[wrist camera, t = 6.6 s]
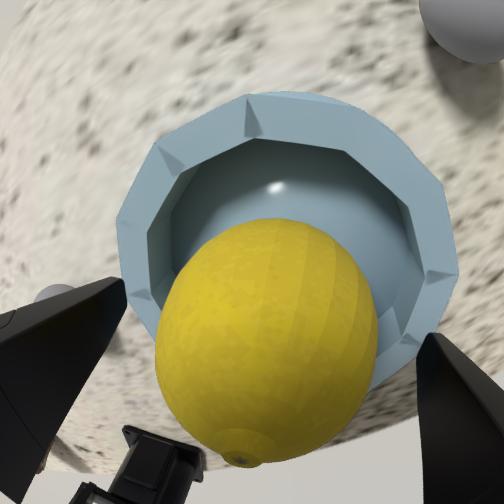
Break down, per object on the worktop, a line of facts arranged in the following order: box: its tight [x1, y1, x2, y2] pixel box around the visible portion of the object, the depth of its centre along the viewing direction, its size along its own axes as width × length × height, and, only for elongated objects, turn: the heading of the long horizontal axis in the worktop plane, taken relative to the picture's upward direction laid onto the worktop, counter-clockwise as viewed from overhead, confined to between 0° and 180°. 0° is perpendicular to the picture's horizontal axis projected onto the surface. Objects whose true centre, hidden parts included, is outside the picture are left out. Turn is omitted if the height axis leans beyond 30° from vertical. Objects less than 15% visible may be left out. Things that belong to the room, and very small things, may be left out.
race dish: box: [116, 91, 459, 392], centre depth 11 cm, size 12×12×3 cm
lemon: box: [155, 218, 378, 468], centre depth 8 cm, size 6×6×8 cm
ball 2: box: [419, 0, 504, 64], centre depth 6 cm, size 4×4×4 cm
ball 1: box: [33, 284, 75, 303], centre depth 15 cm, size 4×4×4 cm
